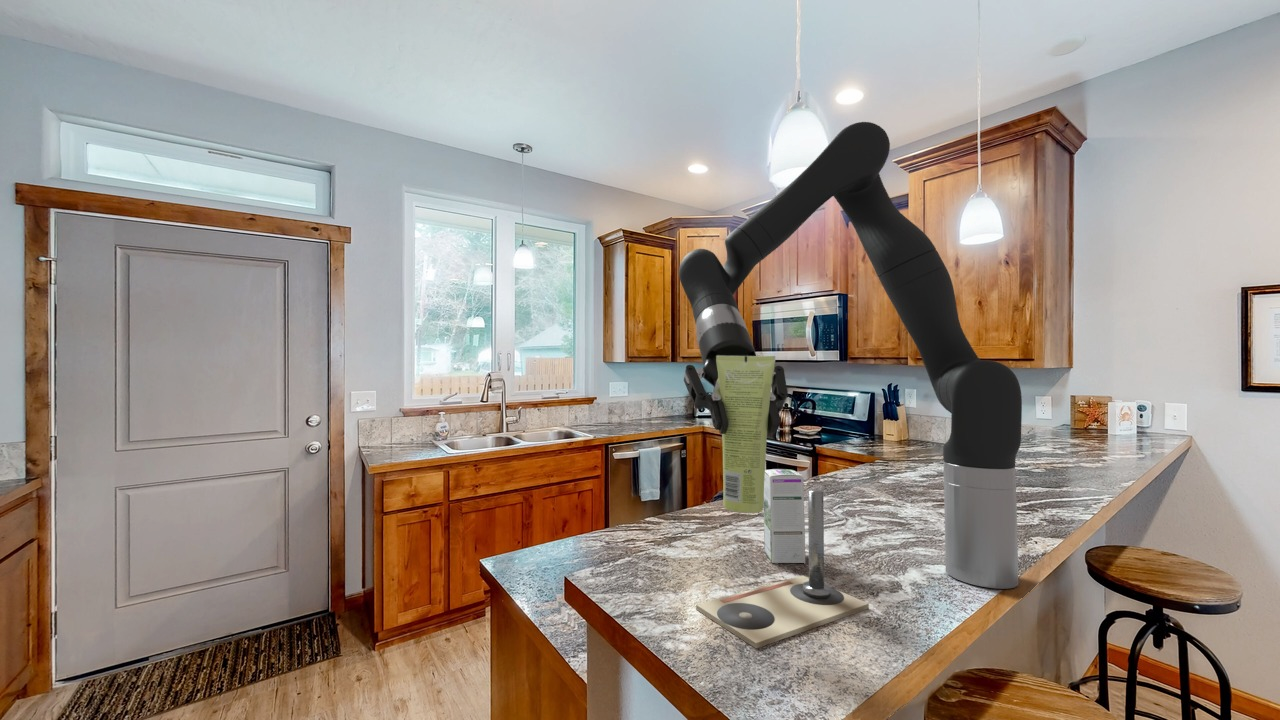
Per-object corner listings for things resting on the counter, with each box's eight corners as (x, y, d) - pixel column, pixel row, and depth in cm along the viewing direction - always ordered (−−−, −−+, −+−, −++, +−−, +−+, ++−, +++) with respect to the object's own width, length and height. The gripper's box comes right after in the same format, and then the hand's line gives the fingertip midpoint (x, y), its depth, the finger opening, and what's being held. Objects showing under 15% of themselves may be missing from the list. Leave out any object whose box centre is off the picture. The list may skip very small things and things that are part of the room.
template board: (802, 579, 75) (802, 575, 75) (868, 608, 65) (868, 603, 65) (696, 609, 65) (696, 604, 65) (756, 648, 55) (755, 642, 55)
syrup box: (806, 564, 81) (805, 474, 82) (770, 564, 81) (769, 474, 82) (796, 552, 87) (795, 468, 88) (762, 552, 87) (762, 468, 88)
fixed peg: (814, 586, 71) (814, 487, 72) (836, 595, 68) (835, 492, 68) (797, 591, 69) (796, 489, 70) (818, 601, 66) (817, 494, 67)
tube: (753, 503, 66) (753, 356, 67) (776, 512, 61) (775, 354, 62) (715, 506, 64) (715, 355, 65) (736, 516, 59) (736, 353, 60)
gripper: (679, 320, 70) (696, 409, 58) (777, 321, 72) (815, 409, 59) (672, 359, 75) (687, 449, 63) (764, 360, 77) (797, 448, 64)
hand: (749, 429), depth 61 cm, fingers closed on tube, 5 cm apart
